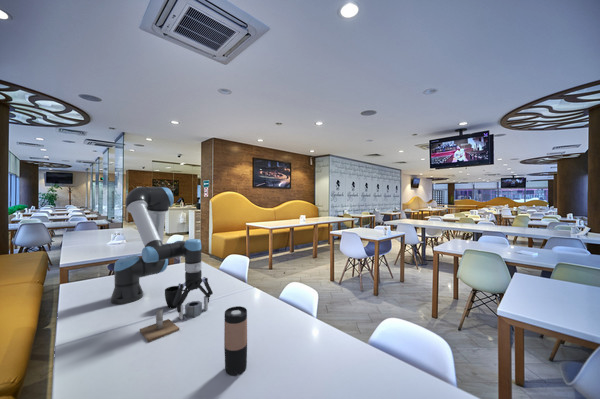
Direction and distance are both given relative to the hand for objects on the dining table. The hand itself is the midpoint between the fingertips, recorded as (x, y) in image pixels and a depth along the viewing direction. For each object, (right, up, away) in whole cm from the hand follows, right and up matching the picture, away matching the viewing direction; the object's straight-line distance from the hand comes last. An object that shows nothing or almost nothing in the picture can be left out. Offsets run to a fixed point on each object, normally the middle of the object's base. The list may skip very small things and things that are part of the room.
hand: (193, 313), depth 125 cm
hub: (0, 0, 0) cm, 0 cm away
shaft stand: (-9, -1, -15) cm, 17 cm away
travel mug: (+31, -1, -39) cm, 50 cm away
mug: (-13, 0, +9) cm, 15 cm away
